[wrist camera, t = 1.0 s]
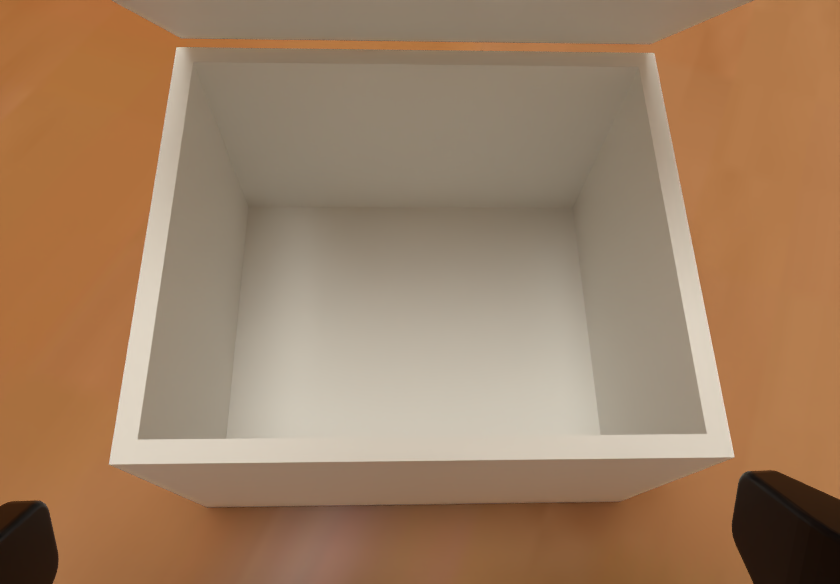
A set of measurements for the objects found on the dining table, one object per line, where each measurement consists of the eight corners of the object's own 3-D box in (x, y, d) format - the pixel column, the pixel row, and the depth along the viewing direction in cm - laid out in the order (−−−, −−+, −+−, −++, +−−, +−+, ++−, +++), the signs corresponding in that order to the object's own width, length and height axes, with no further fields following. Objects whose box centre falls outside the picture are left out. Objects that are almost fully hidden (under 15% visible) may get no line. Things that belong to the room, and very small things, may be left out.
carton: (619, 501, 22) (734, 457, 14) (207, 507, 21) (109, 464, 14) (581, 203, 26) (654, 53, 19) (238, 202, 26) (176, 47, 18)
